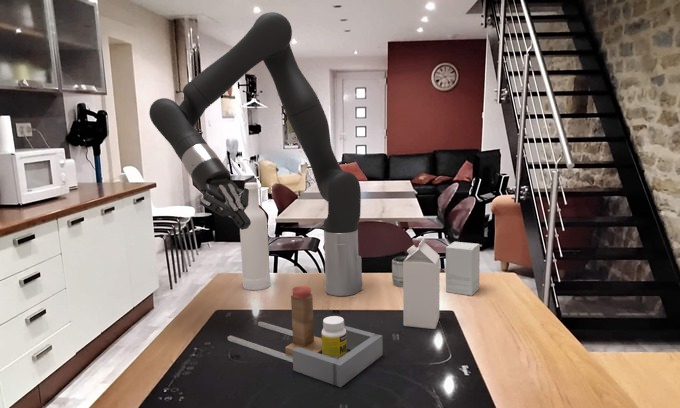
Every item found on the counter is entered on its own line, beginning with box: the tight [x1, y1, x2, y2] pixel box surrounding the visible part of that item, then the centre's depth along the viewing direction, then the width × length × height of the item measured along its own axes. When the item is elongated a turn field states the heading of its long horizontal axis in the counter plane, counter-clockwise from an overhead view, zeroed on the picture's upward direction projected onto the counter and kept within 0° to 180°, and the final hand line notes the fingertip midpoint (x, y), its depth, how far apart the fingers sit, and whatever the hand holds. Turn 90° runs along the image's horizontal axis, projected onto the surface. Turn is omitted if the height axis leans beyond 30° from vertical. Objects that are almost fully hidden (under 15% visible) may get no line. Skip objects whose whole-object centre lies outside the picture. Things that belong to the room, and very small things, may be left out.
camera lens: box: [391, 255, 408, 288], centre depth 135 cm, size 6×6×8 cm
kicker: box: [284, 285, 322, 356], centre depth 93 cm, size 7×7×13 cm
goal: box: [292, 325, 384, 388], centre depth 90 cm, size 14×11×4 cm
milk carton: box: [402, 237, 441, 330], centre depth 107 cm, size 7×7×19 cm
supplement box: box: [445, 241, 481, 297], centre depth 128 cm, size 7×7×13 cm
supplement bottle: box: [321, 315, 348, 359], centre depth 90 cm, size 5×5×8 cm
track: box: [227, 321, 293, 364], centre depth 100 cm, size 10×18×1 cm, turn 54°
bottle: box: [239, 181, 271, 291], centre depth 135 cm, size 8×8×30 cm
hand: (246, 226), depth 102 cm, fingers closed
